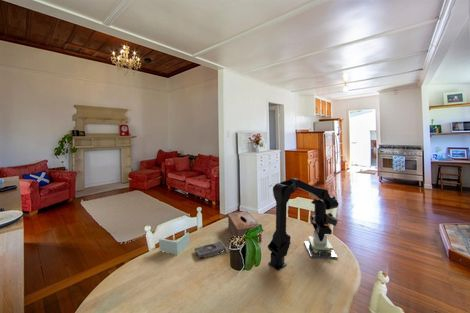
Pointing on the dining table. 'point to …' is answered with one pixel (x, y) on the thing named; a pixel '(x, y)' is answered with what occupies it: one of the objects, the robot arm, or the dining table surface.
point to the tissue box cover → (241, 223)
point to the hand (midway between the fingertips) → (319, 239)
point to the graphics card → (211, 249)
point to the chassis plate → (320, 252)
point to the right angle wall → (174, 244)
